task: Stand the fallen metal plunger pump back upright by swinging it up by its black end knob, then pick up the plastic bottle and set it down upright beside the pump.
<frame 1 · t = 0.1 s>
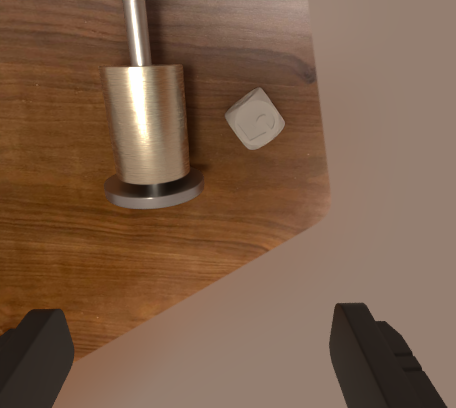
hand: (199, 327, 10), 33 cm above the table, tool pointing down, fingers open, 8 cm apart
metal plunger pump: (144, 91, 33), point 6 cm above the table, hinge at 90.0°
die: (252, 115, 39), on the table
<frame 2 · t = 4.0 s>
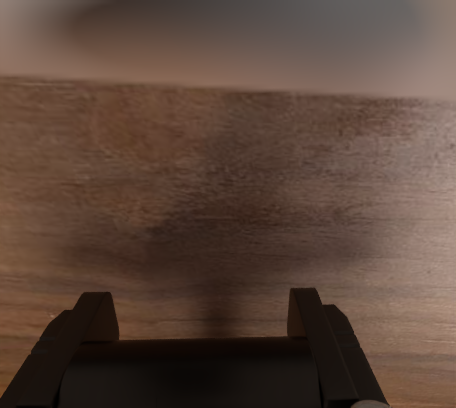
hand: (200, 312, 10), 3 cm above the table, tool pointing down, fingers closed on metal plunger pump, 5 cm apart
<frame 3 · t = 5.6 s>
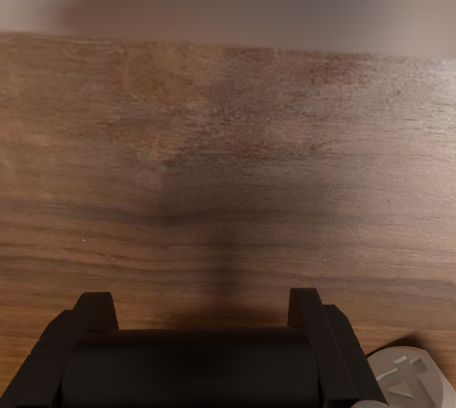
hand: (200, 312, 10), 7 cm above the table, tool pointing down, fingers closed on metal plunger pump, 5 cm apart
die: (392, 370, 21), on the table
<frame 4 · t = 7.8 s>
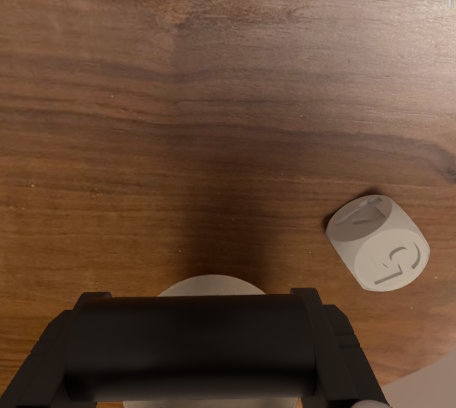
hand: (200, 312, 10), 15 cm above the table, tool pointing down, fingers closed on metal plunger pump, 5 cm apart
metal plunger pump: (213, 364, 16), point 11 cm above the table, hinge at 51.6°, touching gripper
die: (360, 225, 26), on the table
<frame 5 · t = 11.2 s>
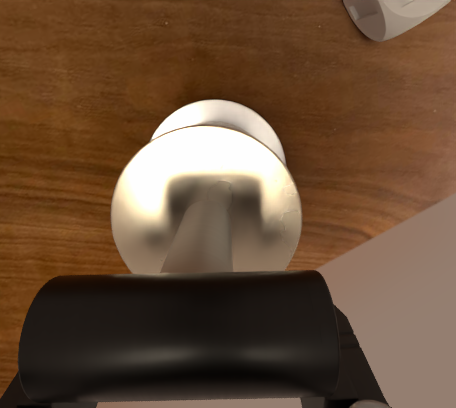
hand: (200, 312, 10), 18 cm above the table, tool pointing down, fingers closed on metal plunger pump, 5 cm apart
metal plunger pump: (209, 207, 16), point 11 cm above the table, hinge at 8.3°, touching gripper
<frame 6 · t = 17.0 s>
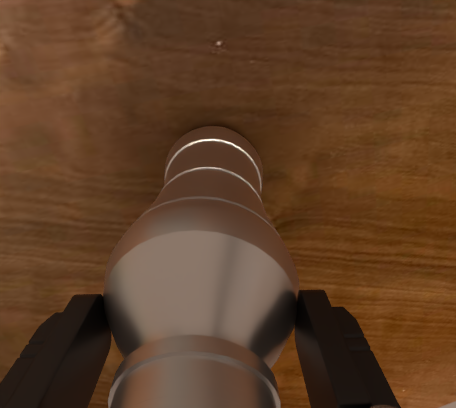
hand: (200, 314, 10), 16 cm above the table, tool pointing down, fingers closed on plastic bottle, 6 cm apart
plastic bottle: (214, 162, 24), on the table, touching gripper
when the fingers open (16 cm above the table, at t = 24.4 s): plastic bottle stays where it is, on the table.
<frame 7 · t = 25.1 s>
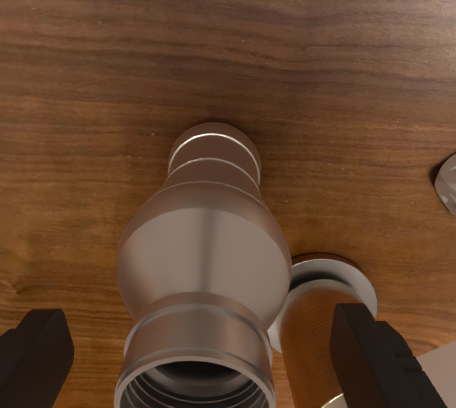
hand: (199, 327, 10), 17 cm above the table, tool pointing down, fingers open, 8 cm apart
plastic bottle: (215, 157, 26), on the table
metal plunger pump: (357, 402, 21), point 11 cm above the table, hinge at 7.8°
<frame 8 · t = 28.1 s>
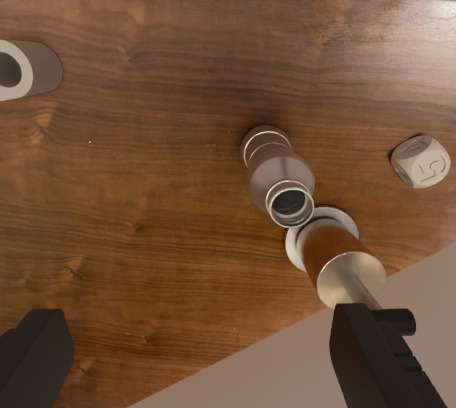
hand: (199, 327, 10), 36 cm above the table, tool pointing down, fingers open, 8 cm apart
plastic bottle: (263, 145, 44), on the table
metal plunger pump: (344, 273, 39), point 11 cm above the table, hinge at 7.8°
die: (408, 156, 45), on the table
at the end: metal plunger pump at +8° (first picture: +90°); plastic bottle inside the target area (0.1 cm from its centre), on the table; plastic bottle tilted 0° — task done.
